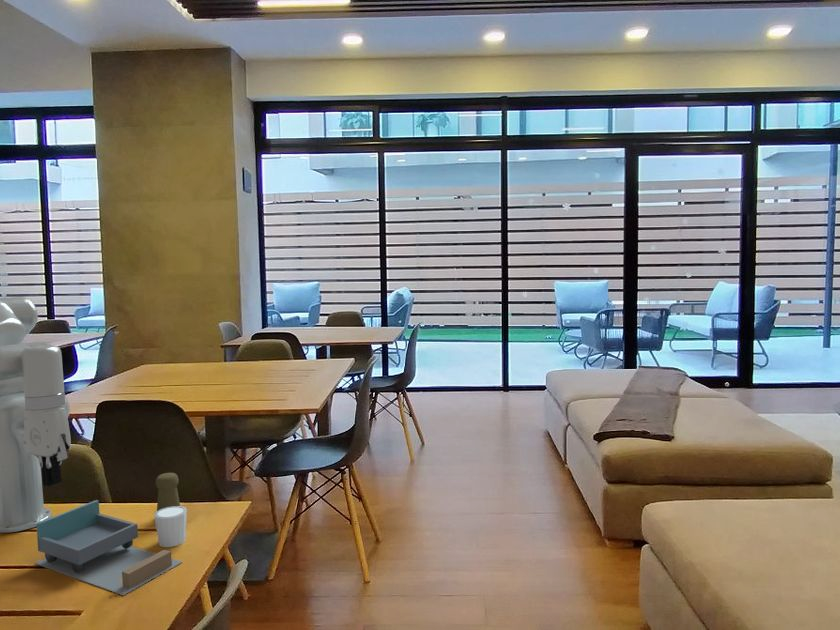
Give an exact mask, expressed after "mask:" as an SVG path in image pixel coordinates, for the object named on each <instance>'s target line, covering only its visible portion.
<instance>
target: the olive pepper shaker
mask: <svg viewBox="0 0 840 630" xmlns="http://www.w3.org/2000/svg"><path fill="white" fill-rule="evenodd" d="M178 485H179V477H178V475H177V474H176V473H175V472H165V473H162V474H159V475H158V476H157V477H156V479H155V486H156V488H157V489H158V492H157V502H156V503H157V506H156V512H157V511H158V510H160V509H163V508H166V507H172V506H181V503H180V498H179V492H178Z"/></svg>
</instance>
